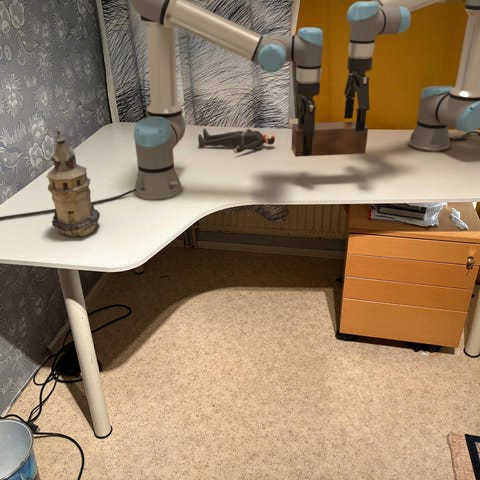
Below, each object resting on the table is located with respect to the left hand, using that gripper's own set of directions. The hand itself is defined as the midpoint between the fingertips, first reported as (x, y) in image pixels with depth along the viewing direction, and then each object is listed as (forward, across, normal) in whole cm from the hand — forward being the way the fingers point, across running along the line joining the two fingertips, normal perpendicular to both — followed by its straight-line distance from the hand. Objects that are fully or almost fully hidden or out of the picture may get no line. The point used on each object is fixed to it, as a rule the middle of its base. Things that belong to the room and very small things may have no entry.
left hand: (304, 151), depth 178 cm
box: (0, 0, -8) cm, 8 cm away
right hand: (-9, 0, -16) cm, 18 cm away
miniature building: (+11, -26, +71) cm, 77 cm away
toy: (+11, +38, +19) cm, 44 cm away
